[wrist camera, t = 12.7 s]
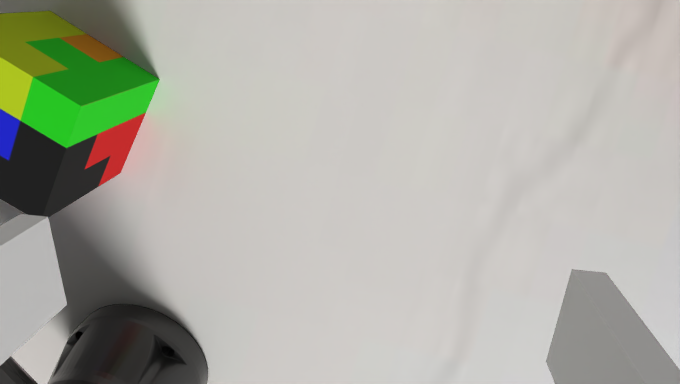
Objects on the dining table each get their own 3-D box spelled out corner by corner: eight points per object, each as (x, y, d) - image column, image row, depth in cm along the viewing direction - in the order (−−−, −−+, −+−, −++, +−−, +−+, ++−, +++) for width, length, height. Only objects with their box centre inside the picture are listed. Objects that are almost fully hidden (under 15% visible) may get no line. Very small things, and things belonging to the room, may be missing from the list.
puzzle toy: (21, 113, 41) (-90, 147, 32) (50, 10, 37) (-66, 16, 28) (120, 172, 42) (40, 221, 33) (160, 79, 38) (81, 106, 29)
